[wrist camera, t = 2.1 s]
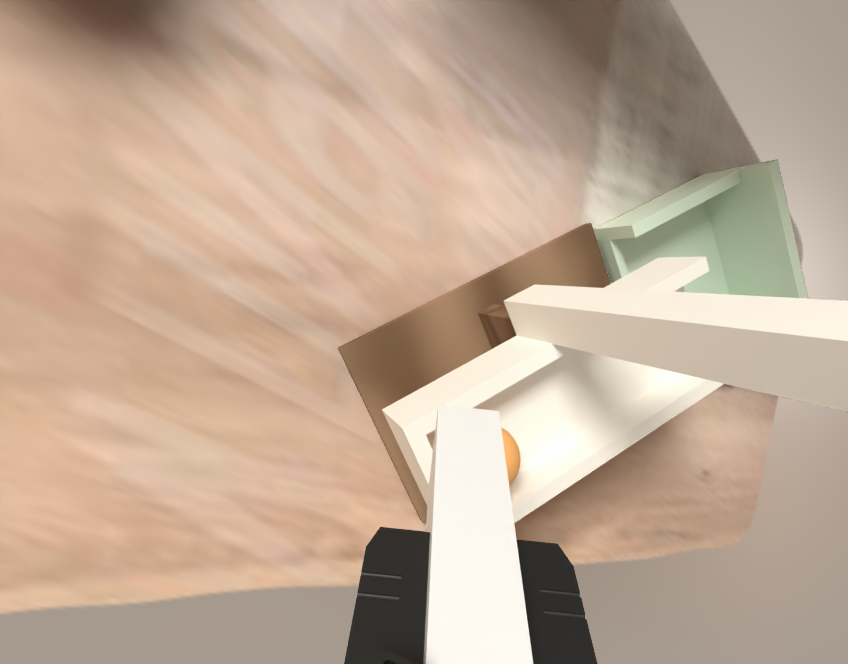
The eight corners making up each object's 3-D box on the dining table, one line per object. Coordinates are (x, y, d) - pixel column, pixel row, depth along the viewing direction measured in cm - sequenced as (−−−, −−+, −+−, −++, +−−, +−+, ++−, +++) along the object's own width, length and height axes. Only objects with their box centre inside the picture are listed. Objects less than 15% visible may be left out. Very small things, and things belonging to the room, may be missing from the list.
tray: (639, 371, 38) (704, 388, 32) (593, 229, 35) (657, 222, 30) (738, 310, 40) (812, 317, 35) (702, 174, 37) (777, 159, 32)
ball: (452, 408, 25) (482, 427, 22) (507, 423, 26) (543, 442, 24) (431, 472, 25) (459, 499, 22) (488, 483, 26) (521, 511, 24)
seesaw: (436, 526, 27) (796, 968, 10) (362, 367, 25) (665, 591, 8) (689, 364, 32) (1226, 476, 15) (647, 219, 30) (1226, 152, 12)
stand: (419, 518, 33) (450, 557, 28) (337, 347, 30) (357, 362, 25) (636, 382, 38) (692, 397, 33) (585, 223, 35) (638, 217, 30)
